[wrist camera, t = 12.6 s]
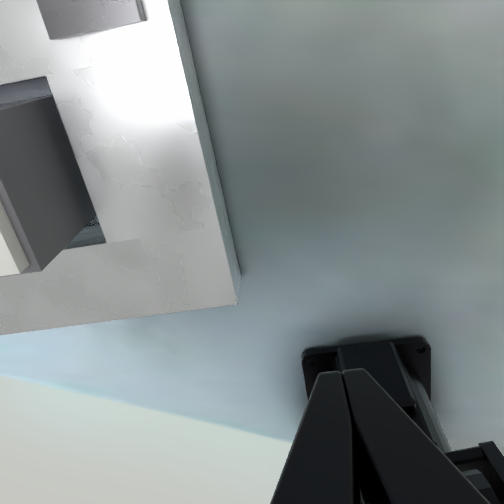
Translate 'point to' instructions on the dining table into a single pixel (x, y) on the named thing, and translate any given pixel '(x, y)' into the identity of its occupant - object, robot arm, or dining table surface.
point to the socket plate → (123, 164)
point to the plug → (37, 187)
